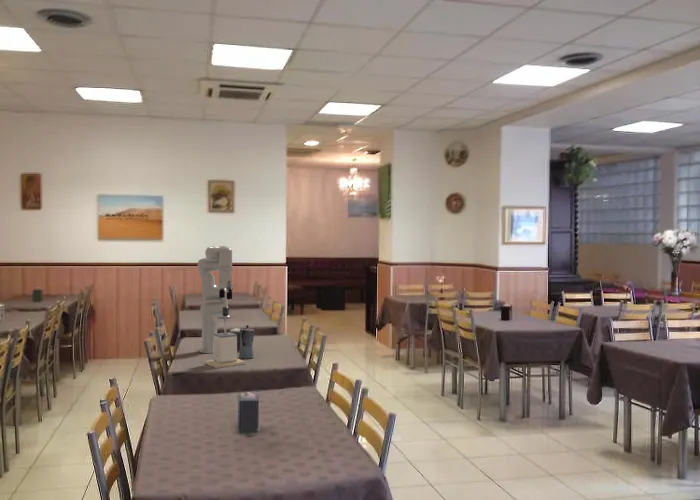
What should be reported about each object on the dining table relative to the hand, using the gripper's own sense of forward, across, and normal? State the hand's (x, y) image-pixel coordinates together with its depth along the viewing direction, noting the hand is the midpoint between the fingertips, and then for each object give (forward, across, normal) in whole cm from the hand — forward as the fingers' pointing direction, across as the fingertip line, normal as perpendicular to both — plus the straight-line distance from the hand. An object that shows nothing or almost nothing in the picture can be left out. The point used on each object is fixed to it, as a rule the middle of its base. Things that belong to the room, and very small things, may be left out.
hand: (225, 298), depth 383 cm
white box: (+38, -1, 0) cm, 39 cm away
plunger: (+28, -1, 0) cm, 29 cm away
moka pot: (+39, -9, +18) cm, 44 cm away
